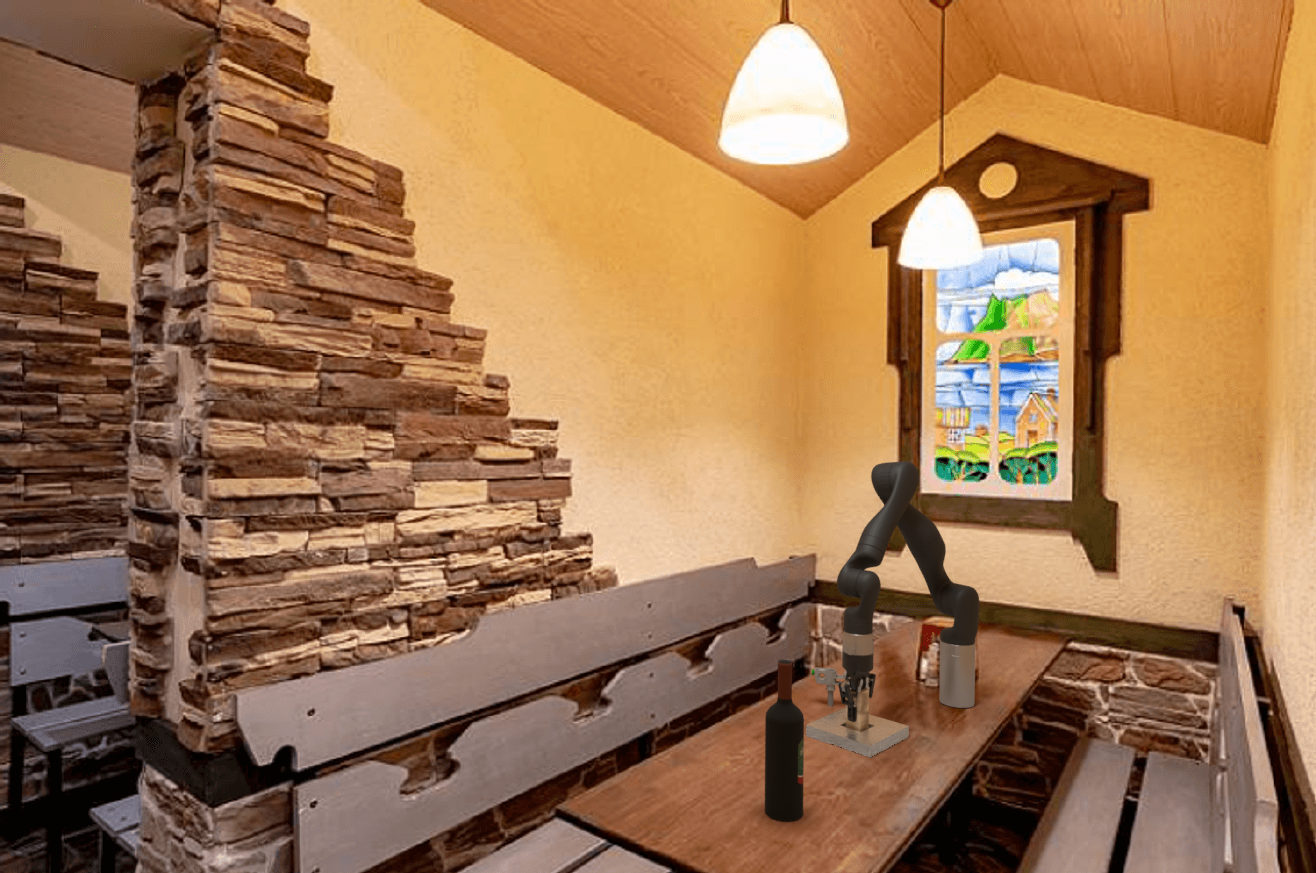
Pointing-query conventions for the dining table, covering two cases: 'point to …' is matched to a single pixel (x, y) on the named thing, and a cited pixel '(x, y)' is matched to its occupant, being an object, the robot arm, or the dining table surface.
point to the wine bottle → (784, 752)
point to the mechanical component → (828, 680)
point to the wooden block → (860, 712)
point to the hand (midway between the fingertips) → (857, 718)
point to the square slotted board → (857, 733)
